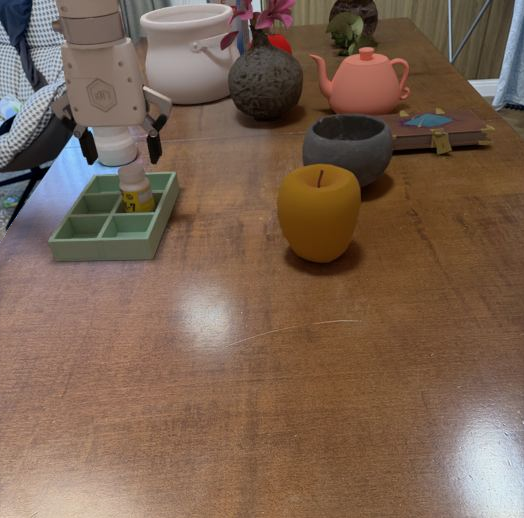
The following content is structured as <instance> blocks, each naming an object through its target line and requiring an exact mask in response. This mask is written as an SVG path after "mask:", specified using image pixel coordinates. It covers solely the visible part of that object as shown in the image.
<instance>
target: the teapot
mask: <svg viewBox="0 0 524 518" xmlns="http://www.w3.org/2000/svg"><path fill="white" fill-rule="evenodd" d="M374 52H375V47H364V48H361V49H359V54H356V55H351V56H347V57H345V58H344V59H343V60H342V62H341V63H340V65H339V67H338V68H337V70H336V72H335V73H334V76H333V78H332V80H331V81H330V80H329V79H328V76H327V68H326V67H327V66H326V62H325V60H324V58H323V57H322V56H319V55H316V54H310V53H309V54H308V55H309V56H310V57H311V58H312V60H314V61H315V63H316V67H317V78H318V79H317V80H318V88H319V91H320V93H321V95H322V96H323V97H324V98H325V99H326V100H327V102H328V105H329V107H330V109H332V110H333V112H334V113H335V115H337V114H363V115H369V116H375V115H389V114H391V113H392V111H393V110H394V109H395V108H396V107H397V105H398V104H399V103H400V102H399V101H404V100H407V99H409V97H410V94H411V90H410V88H409V87H408V86H405V85H406V82H407V80H408V77H409V74H410V67H409V63H408V62H407V61H406V60H405V59H403V58H401V57H400V58H399V57H395V58H393V59H391V60H390V59H389V58H388V56H386V55H384V54H380V53H374ZM394 65H402V66H403V69H404V70H403V75H402V78H401V80H400V83H399V79H398V75H397V74H396V71H395V68H394ZM403 92H406V93H404V94H403Z"/></svg>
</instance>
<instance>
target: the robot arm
mask: <svg viewBox="0 0 524 518" xmlns="http://www.w3.org/2000/svg"><path fill="white" fill-rule="evenodd" d="M54 1H55V4H56V8H57V12H58V16H57V17H58V18H57V19H53V20H51V24H50V25H51V28H52V31H53V32H54V33H60V34H62V37H63V40H64V41H65V42H64V43H62V44H60V51H61V52H60V53H61V54H60V55H61V62H62V70H63V76H64V82H65V87H66V93H64V94H63V95H61V96H60V97H58V98H57V99H56V100H54V101H53V102H52V103H51V104H50V110H52V112H53V114H54V115H55V116H56V117H57V119H59V120H60V123H61V124H62V126H63V127H65V129H67V130H68V131H70V133H72V135H73V136H74V138H75V139H78V144H79V147H80V150H81V153H82V157H83V158H85V160H86V164H87V165H88V166H93V165H94V164H95V162H96V161H97V160H98V152H97V149H96V145H95V141H94V133H93V131H92V130H89V128H92V127H128V128H129V127H136V126H137V127H138V126H140V127H141V128H142V129H143V131H145V132H146V133H147V136H146V137H145V139H146V146H147V151H148V155H149V160H150V164H151V165H157V164H158V162H159V160H160V158H161V157H162V156H163V148H162V147H163V146H162V140H161V136H160V132H161V131H162V129H163V127H165V125H166V124H167V122H168V120H169V118H170V114H171V112H172V109H173V105H174V103H173V101H172V100H171V99H169V98H167V97H165V96H163V95H161V94H159V93H157V92H155V91H153V90H151V88H150V87H147V85H146V81H145V77H144V73H143V70H142V67H141V63H140V60H139V58H138V54H137V52H136V49H135V46H134V43H133V41H132V39H131V37H127V36H126V31H125V25H124V19H123V15H122V11H121V5H120V0H54ZM150 103H151V104H153V105H155V106H157V107H159V109H160V111H159V115H158V117H157V118H155V117H154V116H153V115H152V114H151V112H150V111H151V105H150ZM67 106H69V107H70V110H71V113H72V114H70V113H69V111H68V110H67Z"/></svg>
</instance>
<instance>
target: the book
mask: <svg viewBox="0 0 524 518" xmlns="http://www.w3.org/2000/svg"><path fill="white" fill-rule="evenodd" d="M373 117H377V118H380V119H382V120H383V121H385V122H386V123H387V124H388V126H389V128H390V130H391V133H392V137H393V151H403V150H413V149H416V150H417V149H429V148H430V149H431V148H432V149H433V148H436V155H437V156H438V155H441V154H445V153H449V152H452V151H453V149H452V147H458V146H473V145H475V146H476V145H478V146H479V145H480V146H489V145H492V144H493V143H494V142H493V140H492V138H489V137H487V135H488V134H492V133H494V132H496V129H495V127H494V126H492V125H489V124H487V123H486V122H484V121H483V120H482V119H481V118H479V116H477V115H476V114H475V113H474V112H473V111H472V110H471V109H470V108H462V109H446V110H442V109H441V108H440V107H435V110H433V111H432V110H431V111H419V112H406V111H405V110H399V113H392V114H391V113H389V114H387V115H375V116H373Z"/></svg>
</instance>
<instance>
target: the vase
mask: <svg viewBox="0 0 524 518" xmlns="http://www.w3.org/2000/svg"><path fill="white" fill-rule="evenodd" d="M252 2H253V0H244V6H245V8H246V9H247V12H244V11H241V10H238V11H236V12H235V13H234V14H233V15H232V16H230V17H229V18H228V20H227V24H228V26H229V25H230V23H231V22H232V20H233V19H234V18H235V17H237V16H238V15H241V16H240V18H241V20H248V22H249V24H248V25H249V31H250V32H251V37H252V39H253V40H252V39H251V41H252V45H251V47H250V48H249V49H248V50H247V51H246V52H244V53H243V54H242V55H241V56H240V57H239V58H237V60H236V61H235V62H234V64H233V65H232V67H231V69H230V71H229V74H228V85H229V91H230V95H229V96H230V98H231V101H232V102H233V104H234V105H235V107H236V109H237V110H238V111H240V112H241V113H242V114H244V115H246V116H248V117H251V118H252V119H253V120H254V121H255V122H256V123H261V124H262V123H263V124H265V123H275V122H278V121H280V120H281V119H282V118H283V116H285V115H286V114H288V113H289V112H290V111H292V110H293V109H294V108H295V107H296V106H297V105H298V104H299V102H300V99H301V97H302V92H303V84H304V73H303V67H302V66H301V64H300V61H299V60H298V59H297V58H296V57H295V56H294V55H293V54H292V55H291V54H290V53H288V52H287V51H285V50H282V49H280V48H278V47H276V46H274V45H272V44H271V43H270V41H269V38H268V36H267V35H266V34H270V32H271V29H270V28H271V27H272V26H273V25H274V23H275V20H276V21H277V20H278V21H280V22H282V24H283V25H284V27H285V29H286V30H289V28H290V27H291V26H292V25H293V22H294V18H293V17H292V14H293V11H292V9H290V8H292V7H293V6H295V5H296V3H297V2H296V0H266V2H267V8H265V9H264V6H263V5H264V4H263V0H259V4H260V5H259V6H260V11H254V7H253V3H252ZM238 33H239V31H234V32H231V33H229V34H227V35H226V36H225V37H224V38H223V39H222V40H221V42H220V47H221V51H223V50H224V49H226V48H227V47H229V46H230V45H231V44H232V43H233V41H234V39H235V38H236V36H237V34H238Z"/></svg>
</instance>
